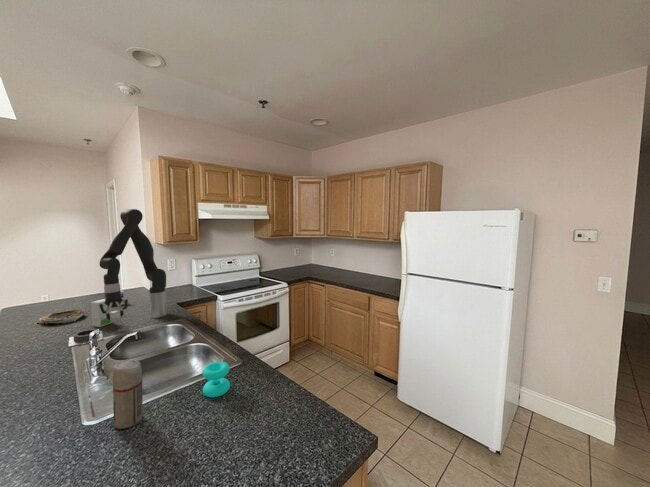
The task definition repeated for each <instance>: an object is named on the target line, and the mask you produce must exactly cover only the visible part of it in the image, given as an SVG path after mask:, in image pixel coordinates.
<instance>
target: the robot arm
mask: <svg viewBox="0 0 650 487" xmlns="http://www.w3.org/2000/svg"><path fill="white" fill-rule="evenodd" d="M119 215H120V217H119V218H120V220H121V222H122V224H123V225H124V226H123V227H122V229H121V230H120V231H119V232H118V234H116V236H115V237H114V238H113V240H112V241H111V244H110V246H109V247H108V250H106V252H105V253H104V254H103V255H102V257H101V258H100V260H99V267H100V268H101V269H103V270H106V273H104V275H103V283H104V284H103V286H104V287H103V292H104V299H105V302H104V303H100V304H99V306H100V309H101V311H102V313H103V314H104V313H106V316H107V319H108V320H109V319H110V314H109V311H110V309H111V308H112V309H113V308H117V307H118V308H119V309H118V310H119V311H120V313H121V318H122V317H124V310H127V308H128V303H129V302H128V301H129V299H128V298H125V299H122V298H121V291H120V290H121V285H120V278H119V274H120V271H121V270H120V269H121V261H120V260H119V259H118V258H117V257H118V256H121V255H122V254H123V253H124V250H125V248H126V247H127V244H128V243H129V240H130V239H131V241H132V244H133V246H134V248H135V251H136V253H137V255H138V257H139V260H140V262H141V264H142V266H143V269H144V273H145V276H146V278H147V279H148V280H149V281H150V282H151V287H149V293H148V294H149V311H150V318H153V319H158V318H163V317H166V316H167V315H168V311H167V307H168V306H167V301H166V287H167V273H166V271H165V270H164V269H161V268H158V266H157V265H156V263H155V260H154V259H155V258H154V254H155V252H154V247H153V245H152V242H151V241H150V239H149V238H148V236H147V235H146V234H145V233H144V232H143V231H142V230H141V228H140V226H139V225H140V223H141V222H142V220H143V217H144V215H143V212H141V210H139V209H136V208H135V209H134V208H131V209H123V210H122V211H121V212H120V214H119ZM122 301H123V302H124V305H123V306H122V305H120V303H121V302H122ZM104 304H106V305H107V306H108V307H107V310H106V311H104V309H103V307H104Z"/></svg>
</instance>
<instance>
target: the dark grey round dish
mask: <svg viewBox="0 0 650 487" xmlns="http://www.w3.org/2000/svg"><path fill="white" fill-rule="evenodd" d="M94 330H97V329H96V328H92V329H85V330H84V329H83V330H81V331H78V332H76V333H74V334H73V336H70V337H69V338H68V348H72V347H75V346H76V345H77V346H80V345H79V344H81V345H84V344H83V343H86V344H89V343H88V341H89V333H90V332H92V331H94ZM99 331H100V334H99V336H98V339H99V341H101V340H100V339H103V340H104V336H103V331H102V330H99Z"/></svg>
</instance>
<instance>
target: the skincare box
mask: <svg viewBox="0 0 650 487" xmlns="http://www.w3.org/2000/svg"><path fill="white" fill-rule="evenodd" d="M104 302H105V298H103V299H98V300H94V301H91V302H90V306H91V309H90V310H91V320H92V322H91V323H92V327H96V328H101V327H102V328H103V327H104V326H108V325H110V324H113V320H110V319H109V320H108V319H107V316H106V313H104V314H103V313H102V311H101V309H100V306H99V304H100V303H104ZM107 307H108V306H107V305H106V304H104V307H103V309H104V311H106V310H107ZM112 309H113V308H111V309H110V311H109V313H110V312H112V311H113V310H112Z"/></svg>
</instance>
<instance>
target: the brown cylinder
mask: <svg viewBox="0 0 650 487" xmlns="http://www.w3.org/2000/svg"><path fill="white" fill-rule="evenodd" d="M112 393H113V397H112V398H113V399H112V400H113V401H112V402H113V403H112V404H113V428H114V429H116V430H122V429H123V430H125V429H129V428H133V427H134V426H136V425H138V424H139V423H141V421H142V420H143V414H144V412H143V410H144V409H143V408H144V407H143V406H144V405H143V404H144V402H143V369H142V364H141V362H140V361H138V360H135V359H129V360H126V361H123V362H119V363H116V364H114V365H113V369H112Z"/></svg>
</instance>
